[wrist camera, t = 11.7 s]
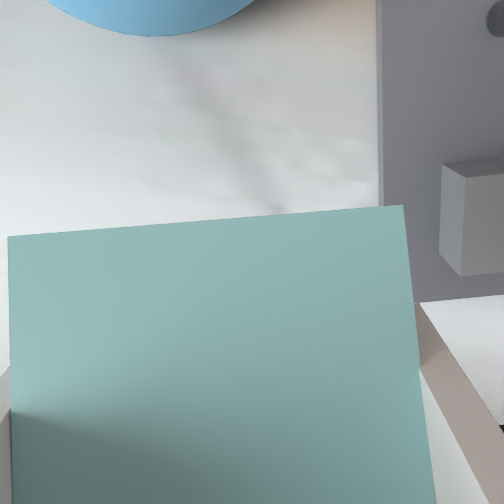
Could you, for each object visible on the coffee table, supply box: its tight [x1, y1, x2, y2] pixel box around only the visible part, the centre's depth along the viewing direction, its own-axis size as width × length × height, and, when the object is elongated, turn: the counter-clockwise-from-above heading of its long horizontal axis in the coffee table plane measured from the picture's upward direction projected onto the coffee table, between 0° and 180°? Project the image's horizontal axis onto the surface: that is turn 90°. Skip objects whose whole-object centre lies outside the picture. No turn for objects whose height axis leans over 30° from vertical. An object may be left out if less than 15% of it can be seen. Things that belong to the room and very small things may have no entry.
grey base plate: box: [376, 0, 504, 303], centre depth 23 cm, size 16×11×4 cm
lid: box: [8, 205, 436, 504], centre depth 11 cm, size 8×8×3 cm
